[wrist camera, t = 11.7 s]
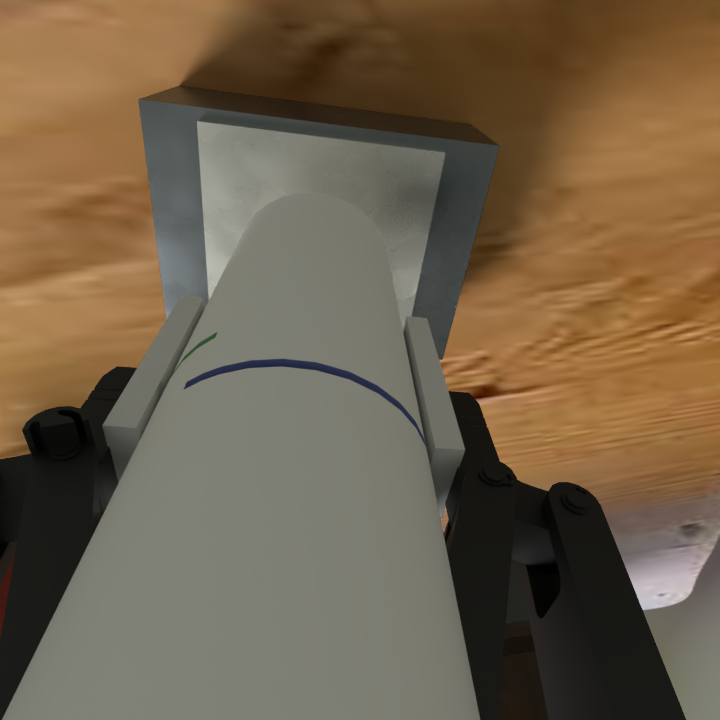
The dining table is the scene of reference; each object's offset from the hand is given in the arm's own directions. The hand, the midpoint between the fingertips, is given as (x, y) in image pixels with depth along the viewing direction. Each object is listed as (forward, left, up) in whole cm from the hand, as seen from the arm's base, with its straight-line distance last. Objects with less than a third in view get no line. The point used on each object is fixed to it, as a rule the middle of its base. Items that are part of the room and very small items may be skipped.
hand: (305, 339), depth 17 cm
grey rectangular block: (0, 0, -14) cm, 14 cm away
